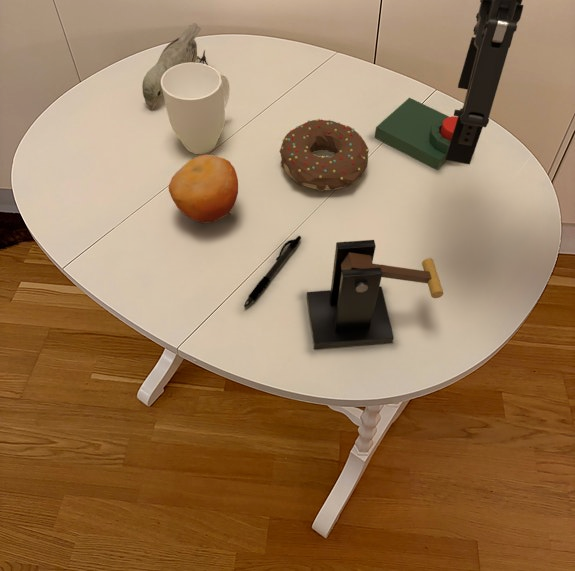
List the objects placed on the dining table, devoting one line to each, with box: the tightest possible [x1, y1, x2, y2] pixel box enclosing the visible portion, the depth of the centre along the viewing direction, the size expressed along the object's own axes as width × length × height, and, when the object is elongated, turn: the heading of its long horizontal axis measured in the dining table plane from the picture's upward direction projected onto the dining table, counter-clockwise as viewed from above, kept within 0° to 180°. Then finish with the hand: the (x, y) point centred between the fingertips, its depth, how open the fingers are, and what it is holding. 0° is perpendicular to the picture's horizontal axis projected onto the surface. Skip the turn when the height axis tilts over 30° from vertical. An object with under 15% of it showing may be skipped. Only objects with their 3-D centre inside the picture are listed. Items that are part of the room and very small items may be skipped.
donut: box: [278, 118, 370, 192], centre depth 92 cm, size 14×14×5 cm
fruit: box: [168, 154, 239, 225], centre depth 84 cm, size 10×9×10 cm
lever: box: [341, 252, 444, 299], centre depth 70 cm, size 12×5×2 cm, turn 96°
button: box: [440, 115, 458, 141], centre depth 93 cm, size 4×4×2 cm
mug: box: [161, 62, 231, 155], centre depth 93 cm, size 12×9×12 cm
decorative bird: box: [141, 23, 209, 110], centre depth 103 cm, size 5×16×8 cm, turn 153°
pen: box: [243, 235, 302, 309], centre depth 81 cm, size 14×2×1 cm, turn 149°
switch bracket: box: [306, 239, 395, 350], centre depth 72 cm, size 10×8×13 cm
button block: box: [373, 97, 451, 171], centre depth 96 cm, size 14×10×4 cm
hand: (463, 122), depth 71 cm, fingers open, 13 cm apart
